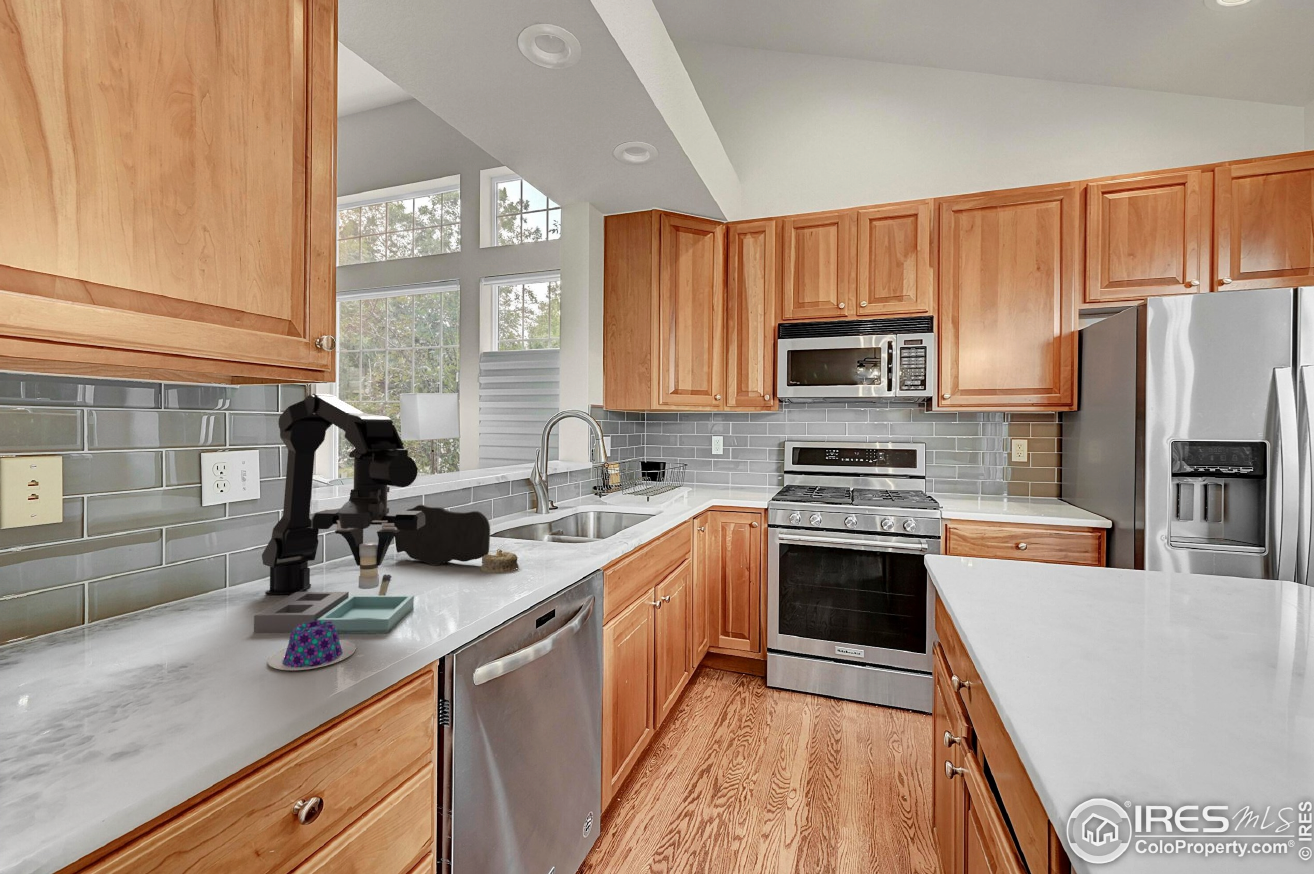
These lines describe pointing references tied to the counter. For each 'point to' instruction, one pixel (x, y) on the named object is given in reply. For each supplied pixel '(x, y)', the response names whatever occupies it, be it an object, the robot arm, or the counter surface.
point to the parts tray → (369, 613)
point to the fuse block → (297, 610)
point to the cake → (499, 562)
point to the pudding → (312, 647)
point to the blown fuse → (368, 566)
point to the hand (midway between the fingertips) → (369, 565)
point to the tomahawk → (384, 584)
